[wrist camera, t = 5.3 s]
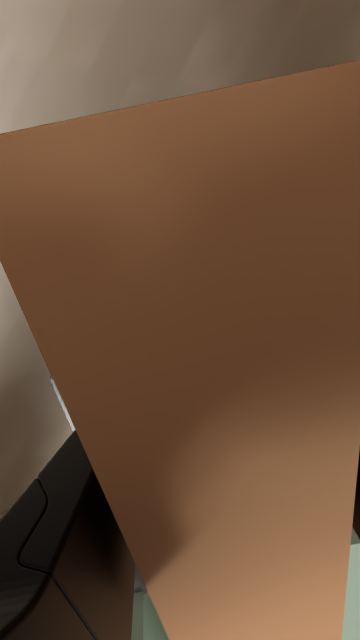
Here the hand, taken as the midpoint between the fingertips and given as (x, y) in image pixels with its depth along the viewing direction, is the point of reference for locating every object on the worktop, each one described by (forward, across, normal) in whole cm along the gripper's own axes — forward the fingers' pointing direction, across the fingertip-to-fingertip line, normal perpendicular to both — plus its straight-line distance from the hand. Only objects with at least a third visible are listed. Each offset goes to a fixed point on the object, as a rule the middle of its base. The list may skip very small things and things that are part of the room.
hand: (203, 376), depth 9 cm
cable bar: (+1, 0, 0) cm, 1 cm away
